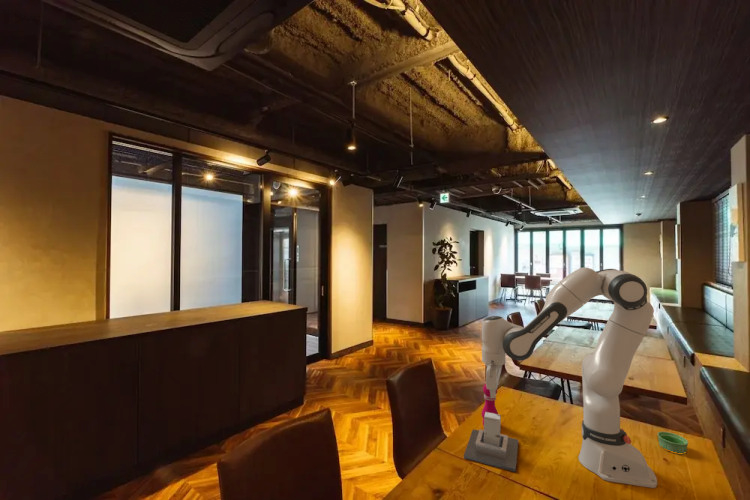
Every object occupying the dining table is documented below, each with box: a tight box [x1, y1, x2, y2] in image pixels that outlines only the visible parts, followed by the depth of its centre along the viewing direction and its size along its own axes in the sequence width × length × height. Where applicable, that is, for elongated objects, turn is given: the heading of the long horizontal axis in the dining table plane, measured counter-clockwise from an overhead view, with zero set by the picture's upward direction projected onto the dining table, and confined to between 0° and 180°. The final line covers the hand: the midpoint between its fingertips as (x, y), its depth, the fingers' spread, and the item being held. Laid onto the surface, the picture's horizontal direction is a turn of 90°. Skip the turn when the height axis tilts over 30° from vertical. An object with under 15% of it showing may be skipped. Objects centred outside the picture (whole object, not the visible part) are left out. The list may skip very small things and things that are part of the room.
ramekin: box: [657, 431, 689, 453], centre depth 129 cm, size 9×9×4 cm
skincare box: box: [483, 412, 502, 447], centre depth 129 cm, size 6×4×12 cm
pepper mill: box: [481, 383, 499, 426], centre depth 147 cm, size 7×7×20 cm
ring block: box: [463, 428, 519, 473], centre depth 129 cm, size 18×20×4 cm
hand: (494, 392), depth 130 cm, fingers open, 8 cm apart
